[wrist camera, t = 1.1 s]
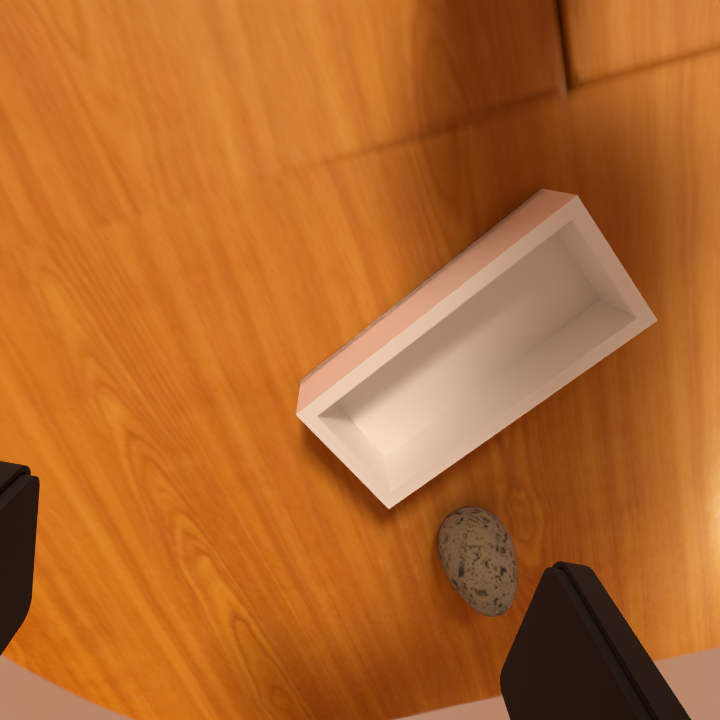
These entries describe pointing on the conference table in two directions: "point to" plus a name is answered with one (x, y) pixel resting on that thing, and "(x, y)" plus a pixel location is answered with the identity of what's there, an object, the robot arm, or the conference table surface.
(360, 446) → the open rectangular box
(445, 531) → the decorative egg
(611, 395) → the conference table surface
